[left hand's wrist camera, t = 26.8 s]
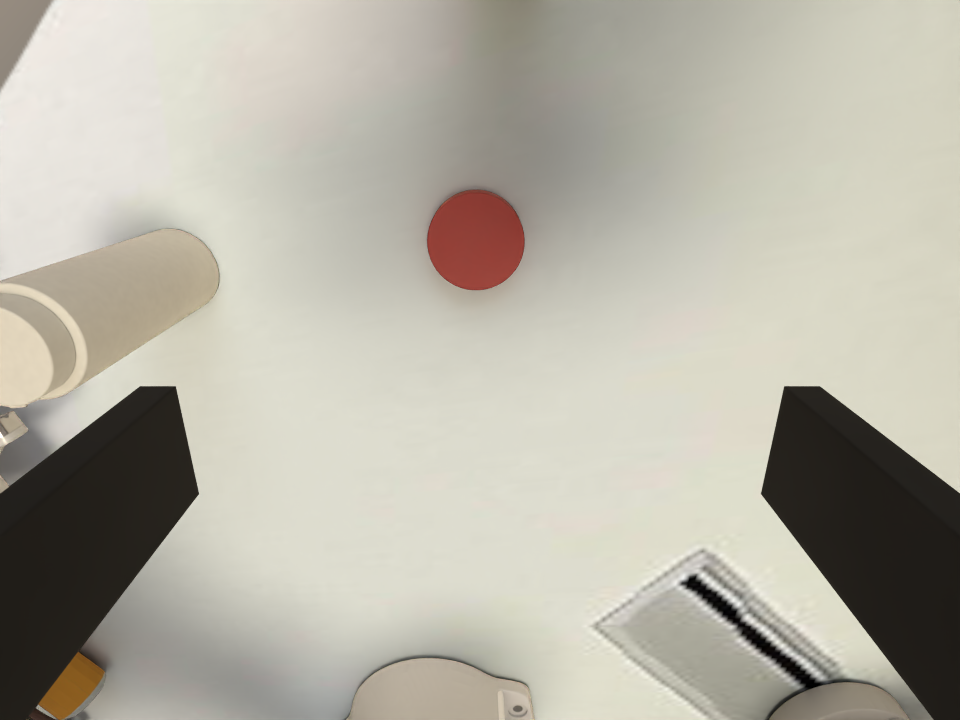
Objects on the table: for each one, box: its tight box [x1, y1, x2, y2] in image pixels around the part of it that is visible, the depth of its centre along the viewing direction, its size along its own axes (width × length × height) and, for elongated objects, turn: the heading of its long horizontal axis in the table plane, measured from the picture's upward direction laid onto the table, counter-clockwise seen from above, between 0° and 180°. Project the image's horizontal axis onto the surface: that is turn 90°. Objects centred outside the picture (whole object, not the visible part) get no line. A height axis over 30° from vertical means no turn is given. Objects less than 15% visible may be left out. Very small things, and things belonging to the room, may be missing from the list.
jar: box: [0, 229, 219, 408], centre depth 31 cm, size 5×5×15 cm
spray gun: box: [26, 652, 106, 720], centre depth 50 cm, size 4×17×15 cm
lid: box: [427, 190, 524, 290], centre depth 36 cm, size 6×6×2 cm
